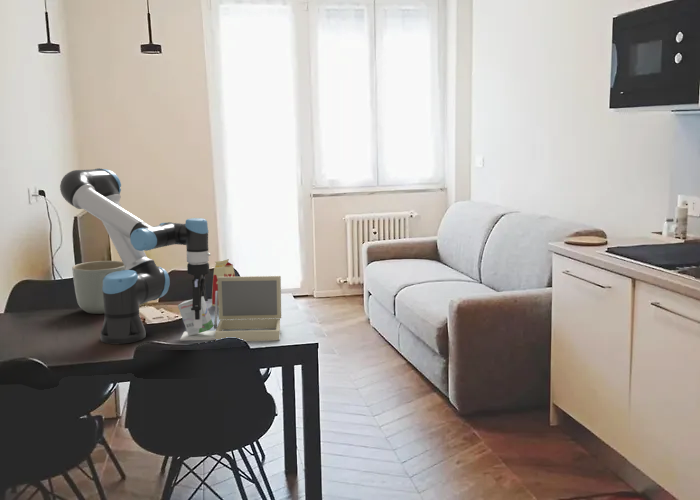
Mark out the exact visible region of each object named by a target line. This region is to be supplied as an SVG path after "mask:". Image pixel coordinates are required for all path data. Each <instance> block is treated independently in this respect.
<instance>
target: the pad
mask: <svg viewBox="0 0 700 500" xmlns="http://www.w3.org/2000/svg"><path fill="white" fill-rule="evenodd" d="M215 332H216V330H208V331H204V332H201V333H197V334H194V335H190V336H188V333H187V331H183V333H182V335H181V337H179V338H180V339H179V341H209V340H210V341H214V340H215V339H216V338H215ZM215 341H216V340H215Z"/></svg>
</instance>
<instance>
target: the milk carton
mask: <svg viewBox="0 0 700 500" xmlns="http://www.w3.org/2000/svg"><path fill="white" fill-rule="evenodd" d="M214 263H215V265H214V267H213V275H212V277H213V278H212V288H211V289H212V291H211V292H212V293H211V306H213V307H215V292H216V291H218V277H236V273H235V268H234V265H233V263H231V262H229V258H228V259H227V258H226V259H225V260H221V261H220V260H219V261H217V260H216V261H214ZM217 308H219V306H217Z"/></svg>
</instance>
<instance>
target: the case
mask: <svg viewBox="0 0 700 500" xmlns="http://www.w3.org/2000/svg"><path fill="white" fill-rule="evenodd" d="M281 281H282V277H281V275H263V276H262V275H258V276H251V275H250V276H247V275H246V276H245V275H244V276H235V277H218V291H216V292H215V306H214V319H213V320H214V323H213V325H214V326H213V329H214V330H215V331H216V332H215V338H216V339H221V338H226V337H236V338H240V339H243V340H246V341H245V342H261V341H262V342H263V341H280V337H281V333H280V332H281V319H282V284H281V283H282V282H281ZM217 306H219V307H217ZM218 320H219V321H218Z"/></svg>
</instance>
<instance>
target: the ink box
mask: <svg viewBox="0 0 700 500" xmlns="http://www.w3.org/2000/svg"><path fill="white" fill-rule="evenodd" d="M192 304H193V298H192V299H188V300H184V301H183V302H181V303H179V304H178V305H177V307H178V310H179V313H180V316H181V318H182V322H183V324H184V327H185V330H186V332H187V333H188V336H190V335H194V334H197V333H201V332H204V331H211V329H212V328H214V323H213V320H212V317H211V314H210V311H209V309H208V306H207V301H205V299H204V296H202V297H201V309H202V328H194V313H193V310H191V308H192Z"/></svg>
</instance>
